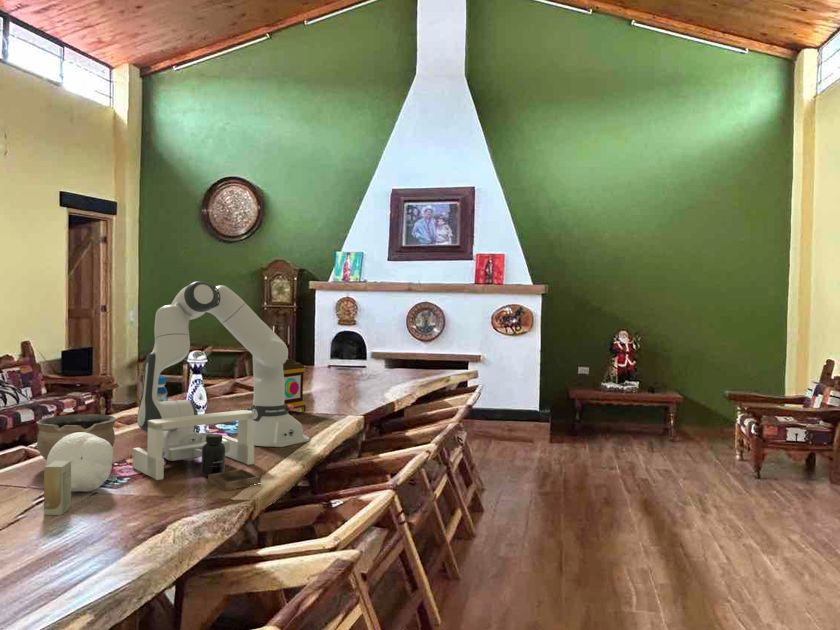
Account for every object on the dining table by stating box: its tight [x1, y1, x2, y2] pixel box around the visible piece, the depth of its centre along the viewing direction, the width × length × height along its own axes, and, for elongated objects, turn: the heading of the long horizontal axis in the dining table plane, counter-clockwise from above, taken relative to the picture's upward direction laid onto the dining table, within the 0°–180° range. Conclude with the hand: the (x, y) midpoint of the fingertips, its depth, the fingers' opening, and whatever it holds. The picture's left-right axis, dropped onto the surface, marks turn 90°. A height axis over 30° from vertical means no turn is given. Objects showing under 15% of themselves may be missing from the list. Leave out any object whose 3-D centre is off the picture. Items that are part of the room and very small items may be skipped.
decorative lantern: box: [250, 356, 307, 413], centre depth 324 cm, size 20×20×30 cm
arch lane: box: [132, 409, 255, 481], centre depth 228 cm, size 32×18×16 cm, turn 133°
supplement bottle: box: [200, 433, 226, 478], centre depth 218 cm, size 7×7×12 cm
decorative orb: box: [46, 432, 114, 493], centre depth 198 cm, size 20×18×16 cm
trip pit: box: [207, 468, 262, 491], centre depth 210 cm, size 11×11×2 cm
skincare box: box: [43, 461, 72, 516], centre depth 180 cm, size 6×4×12 cm
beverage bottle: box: [157, 374, 169, 402], centre depth 287 cm, size 8×8×20 cm
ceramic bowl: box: [35, 414, 117, 462], centre depth 223 cm, size 22×22×15 cm
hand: (208, 454), depth 221 cm, fingers closed, pressing on supplement bottle
